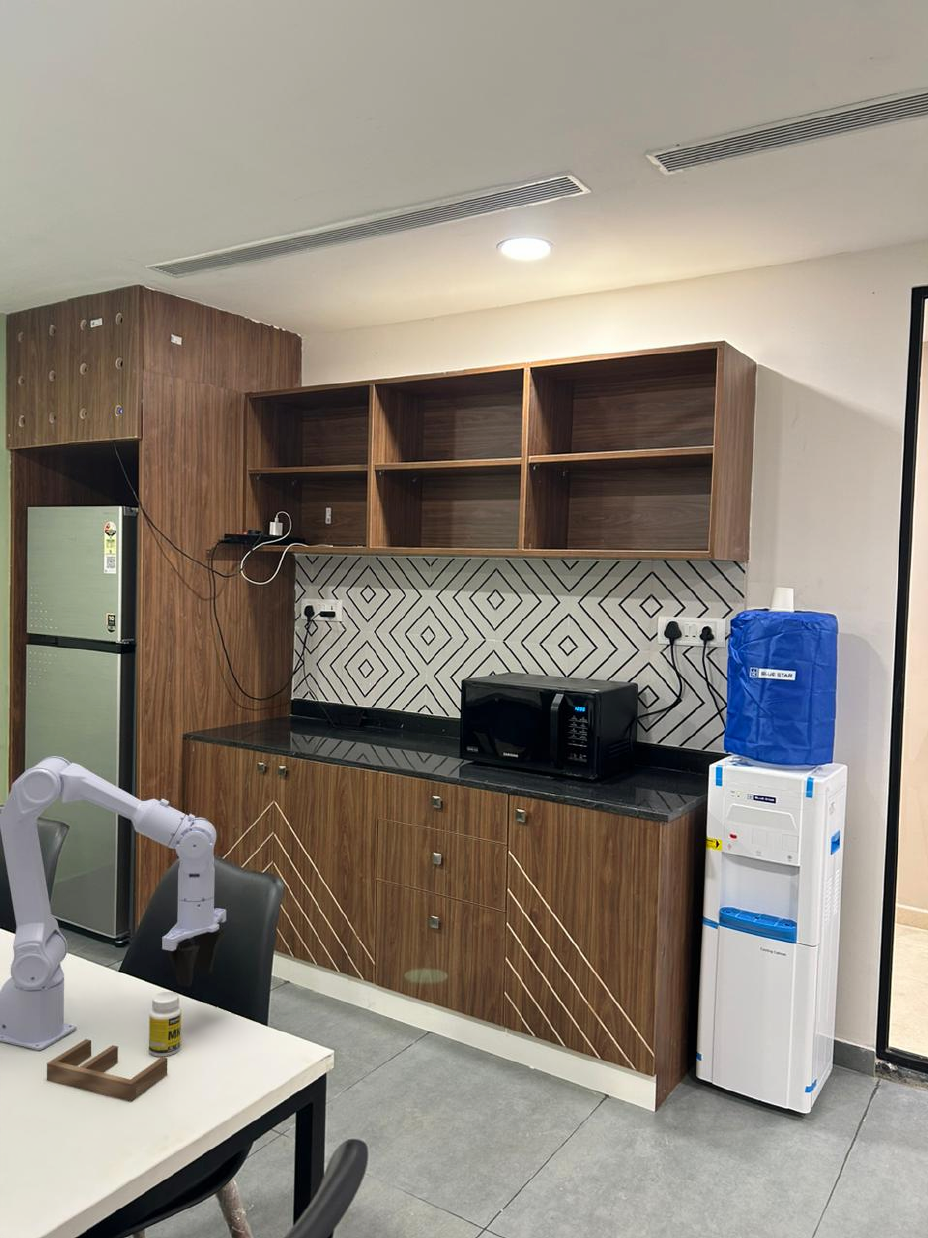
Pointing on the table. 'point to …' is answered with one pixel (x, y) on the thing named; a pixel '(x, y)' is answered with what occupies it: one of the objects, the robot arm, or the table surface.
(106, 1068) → the frame
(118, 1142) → the table surface
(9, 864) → the robot arm
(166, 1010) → the supplement bottle
